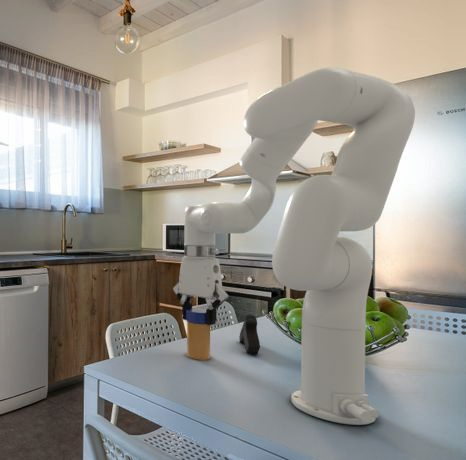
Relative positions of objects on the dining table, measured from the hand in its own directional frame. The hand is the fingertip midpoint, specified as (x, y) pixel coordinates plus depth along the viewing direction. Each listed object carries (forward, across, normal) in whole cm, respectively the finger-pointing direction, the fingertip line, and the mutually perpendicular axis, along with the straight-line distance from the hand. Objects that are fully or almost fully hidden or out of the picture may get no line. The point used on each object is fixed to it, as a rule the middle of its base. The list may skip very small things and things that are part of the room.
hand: (198, 321), depth 104 cm
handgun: (+9, -3, -18) cm, 21 cm away
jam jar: (+9, 0, 0) cm, 9 cm away
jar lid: (0, 0, 0) cm, 0 cm away
